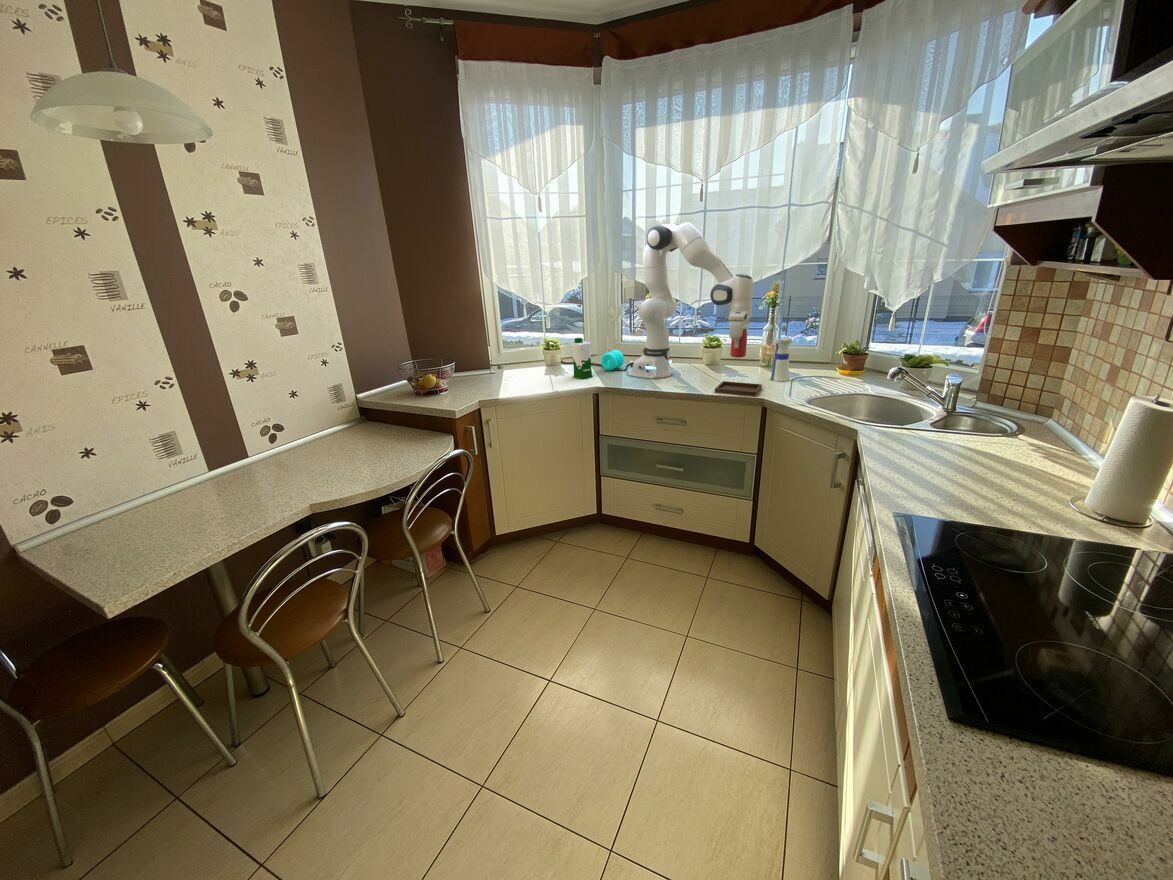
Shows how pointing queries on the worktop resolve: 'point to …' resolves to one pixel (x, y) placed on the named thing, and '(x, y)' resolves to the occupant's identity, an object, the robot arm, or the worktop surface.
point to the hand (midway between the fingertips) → (738, 345)
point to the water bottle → (781, 359)
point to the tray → (738, 388)
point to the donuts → (612, 360)
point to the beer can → (741, 349)
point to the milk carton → (582, 358)
